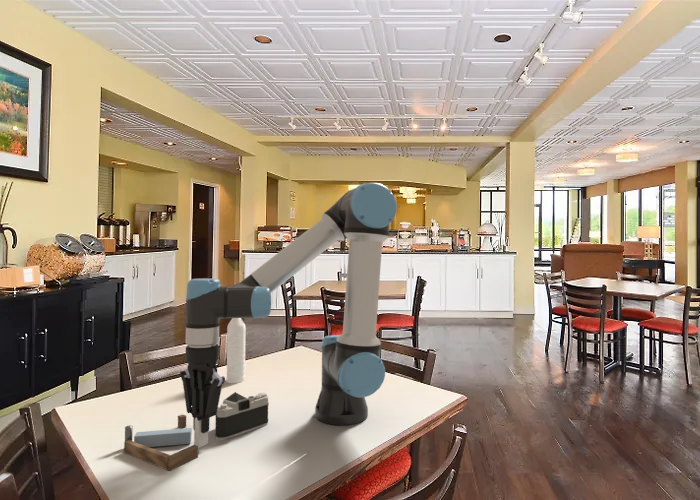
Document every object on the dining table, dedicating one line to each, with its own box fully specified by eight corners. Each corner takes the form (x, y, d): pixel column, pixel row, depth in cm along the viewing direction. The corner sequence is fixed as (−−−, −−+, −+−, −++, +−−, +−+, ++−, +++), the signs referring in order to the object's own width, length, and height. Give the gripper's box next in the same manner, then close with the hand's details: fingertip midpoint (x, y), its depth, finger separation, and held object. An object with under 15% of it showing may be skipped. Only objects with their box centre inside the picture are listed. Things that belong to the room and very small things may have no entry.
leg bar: (134, 448, 105) (134, 436, 105) (136, 443, 108) (136, 432, 108) (190, 443, 108) (190, 431, 108) (191, 439, 111) (191, 427, 111)
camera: (254, 416, 128) (254, 381, 128) (273, 424, 122) (273, 387, 122) (203, 432, 116) (204, 394, 116) (222, 442, 110) (223, 401, 110)
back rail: (171, 467, 97) (172, 455, 97) (167, 469, 96) (167, 458, 96) (129, 450, 105) (129, 439, 105) (124, 452, 103) (124, 441, 104)
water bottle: (230, 386, 156) (231, 314, 157) (223, 381, 162) (224, 312, 162) (253, 382, 162) (254, 312, 162) (246, 377, 167) (247, 310, 167)
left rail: (197, 457, 102) (198, 446, 102) (169, 470, 95) (170, 458, 95) (193, 455, 102) (193, 444, 102) (165, 468, 96) (165, 457, 96)
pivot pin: (133, 447, 106) (133, 426, 106) (127, 450, 105) (127, 428, 105) (129, 445, 107) (129, 425, 107) (123, 448, 106) (123, 427, 106)
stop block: (186, 426, 119) (186, 415, 119) (181, 428, 118) (181, 417, 118) (182, 425, 120) (182, 414, 120) (177, 427, 119) (178, 416, 119)
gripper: (234, 344, 105) (232, 445, 105) (196, 338, 112) (195, 433, 111) (209, 350, 98) (207, 458, 98) (170, 343, 105) (169, 444, 105)
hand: (201, 445), depth 105 cm, fingers closed
